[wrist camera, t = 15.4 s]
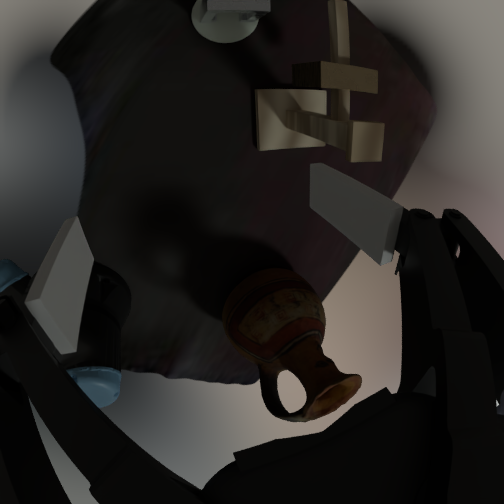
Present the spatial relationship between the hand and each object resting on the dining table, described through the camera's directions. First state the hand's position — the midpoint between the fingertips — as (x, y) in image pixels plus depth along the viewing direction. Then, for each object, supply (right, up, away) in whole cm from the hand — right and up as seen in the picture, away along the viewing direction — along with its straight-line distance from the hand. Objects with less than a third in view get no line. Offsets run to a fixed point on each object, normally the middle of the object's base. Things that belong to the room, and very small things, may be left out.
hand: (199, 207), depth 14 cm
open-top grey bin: (-1, +32, +14) cm, 35 cm away
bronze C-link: (+12, +21, +16) cm, 28 cm away
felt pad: (-1, +32, +15) cm, 36 cm away
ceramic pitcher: (+5, -12, +47) cm, 48 cm away
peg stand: (+9, +25, +24) cm, 35 cm away
